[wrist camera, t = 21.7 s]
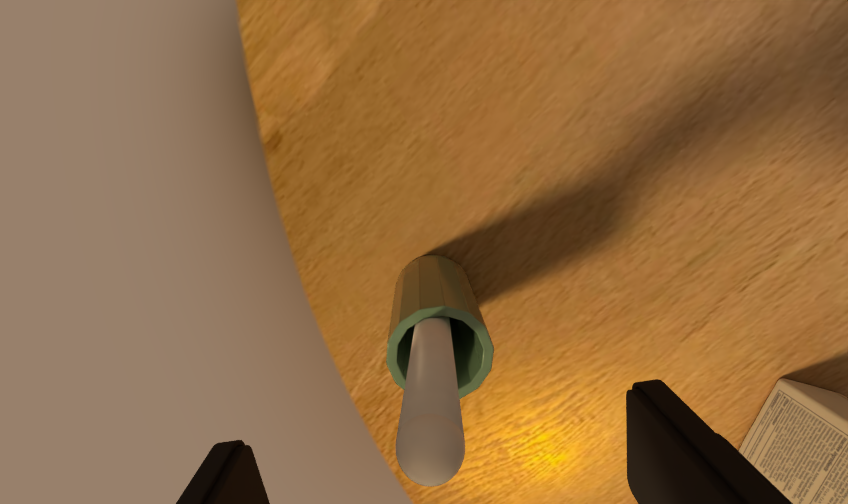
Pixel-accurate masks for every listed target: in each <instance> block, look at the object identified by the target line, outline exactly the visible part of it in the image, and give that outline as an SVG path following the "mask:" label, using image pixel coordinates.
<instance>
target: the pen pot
mask: <svg viewBox="0 0 848 504" xmlns="http://www.w3.org/2000/svg"><path fill="white" fill-rule="evenodd" d="M438 316H447V317H449V320H450V328H451V336H452V344H453V352H454V360H455V368H456V376H457V384H458V392H459V399H461V398H462V397H464V396H466V395H467V394H469V393H471V392H473V391H474V390H476V389H477V388H478V387H479V386H480V385H481V384H482V382H483V381H484V379H485V378H486V376H487V375H488V373H489V372H490V370H491V367H492V360H493V353H494V346H493V344H492V341H491V338H490V336H489V333H488V330H487V328H486V325H485V322H484V320H483V317H482V314H481V312H480V309H479V307H478V304H477V301H476V299H475V296H474V293H473V291H472V288H471V285H470V283H469V280H468V277H467V275H466V273H465V272H464V270H463V269H462V268H461V266H460V265H459V264H457V263H456V262H455V261H453V260H451V259H449V258H447V257H444V256H439V255H427V256H422V257H420V258H417V259H415V260H413V261H412V262H410V263H409V264H408V265H407V266H406V267H405V268H404V269H403V270H402V272H401V273H400V275H399V277H398V280H397V283H396V288H395V294H394V301H393V308H392V315H391V322H390V329H389V335H388V342H387V359H386V363H387V366H388V368H389V370H390V372H391V375H392V377H393V379H394V381H395V383H396V384H397V385H398V386H400V387H401V388H402V389H405V383H406V377H407V371H408V365H409V358H410V352H411V346H412V340H413V334H414V328H415V324H416V323H418V322H419V321H421V320H422V319H424V318H431V317H438Z"/></svg>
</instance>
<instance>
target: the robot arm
mask: <svg viewBox="0 0 848 504" xmlns="http://www.w3.org/2000/svg"><path fill="white" fill-rule="evenodd" d="M626 413H627V479H628V484H629V487H630V489H631V492H632V494H633V495H634V497H635V499H636V500H637V502H638V504H793V503H792V502H791V501H790V500H789V499H788V498H787V497H785V496H784V495H783V494H782V493H781V492H780V491H779V490H778V489H777V488H776V487H775V486H774V485H773V484H772V483H771V482H770V481H769V480H768V479H767V478H766V477H765V476H764V475H763V474H762V473H761V472H759V471H758V470H757V469H756V468H755V467H754V466H753V465H752V464H751V463H750V462H749V461H748V460H747V459H746V458H745V457H744V456H743V455H742V454H741V453H740V452H739V451H738V450H737V449H736V448H735V447H733V446H732V445H731V444H730V443H729V442H728V441H727V440H726V439H725V438H724V437H722V436H721V435H719V434H717V433H715V432H714V431H713V430H712V429H711V428H710V427H709V426H708V425H707V424H706V423H705V422H704V421H703V420H702V419H701V418H700V417H699V416H698V415H696V414H695V413H694V412H693V411H692V410H691V409H690V408H689V407H688V406H687V405H686V404H685V403H684V402H683V401H682V400H681V399H680V398H679V397H678V396H677V395H676V394H675V393H674V392H673V391H672V390H671V389H670V388H669V387H668V386H667V385H666V384H665V383H664V382H662V381H661V380H658V379H657V380H650V381H643V382H636V383H634V384H633V386H632V390H628V391H627V394H626ZM176 504H270V503H269V500H268V497H267V494H266V491H265V488H264V485H263V482H262V479H261V476H260V473H259V470H258V466H257V464H256V460H255V457H254V454H253V451H252V449H251V447H250V446H249V445H245V444H244V442H243V441H242V440H236V441H229V442H222V443H217V444H215V445H214V446H213V448H212V449H211V451H210V452H209V454H208V455H207V457H206V458H205V460H204V461H203V463H202V464H201V466H200V467H199V469H198V471H197V472H196V474H195V475H194V477H193V478H192V480H191V481H190V483H189V484H188V486H187V487H186V489H185V490H184V492H183V494H182V495H181V497H180V498H179V500H178V501H177V503H176Z"/></svg>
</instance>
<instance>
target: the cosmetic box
mask: <svg viewBox="0 0 848 504" xmlns="http://www.w3.org/2000/svg"><path fill="white" fill-rule="evenodd" d="M739 452H740V453H741V454H742V455H743V456H744V457H745V458H746V459H747V460H748V461H749V462H750V463H751V464H752V465H753V466H754V467H755V468H756V469H757V470H758V471H759V472H761V473H762V474H763V475H764V476H765V477H766V478H767V479H768V480H769V481H770V482H771V483H772V484H773V485H774V486H775V487H776V488H777V489H778V490H779V491H780V492H781V493H782V494H783V495H784V496H785V497H787V498H788V499H789V500H790V501H791V502H792V503H793V504H848V398H847V397H846V396H844V395H842V394H839V393H836V392H833V391H829V390H826V389H822V388H819V387H815V386H811V385H807V384H804V383H800V382H796V381H792V380H788V379H785V378H782V379H779V380H778V381H777V383H776V385H775V387H774V388H773V390H772V392H771V393H770V395H769V397H768V398H767V400H766V402H765V403H764V405H763V407H762V409H761V411H760V413H759V414H758V416H757V418H756V420H755V422H754V423H753V425H752V427H751V429H750V430H749V432H748V434H747V435H746V437H745V439H744V441H743V443H742V445H741V447H740V449H739Z"/></svg>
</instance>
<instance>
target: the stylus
mask: <svg viewBox="0 0 848 504" xmlns="http://www.w3.org/2000/svg"><path fill="white" fill-rule="evenodd" d="M464 454H465V441H464V433H463V425H462V417H461V409H460V400H459V392H458V384H457V376H456V368H455V360H454V352H453V344H452V336H451V328H450V320H449V317H447V316H438V317H431V318H424V319H422V320H421V321H419V322H418V323H416V324H415V328H414V334H413V340H412V346H411V352H410V358H409V365H408V371H407V377H406V383H405V389H404V395H403V402H402V408H401V414H400V420H399V426H398V432H397V439H396V456H397V459H398V463H399V465H400V467H401V469H402V471H403V472H404V473H405V474H406V475H407V477H409V478H410V479H411V480H412V481H414V482H415V483H417V484H420V485H423V486H437V485H441V484H444V483H446V482H447V481H449V480H450V479H451V478H452V477H453V476H454V475H455V474H456V473H457V472H458V470H459V469H460V467H461V464H462V462H463V459H464Z"/></svg>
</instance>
